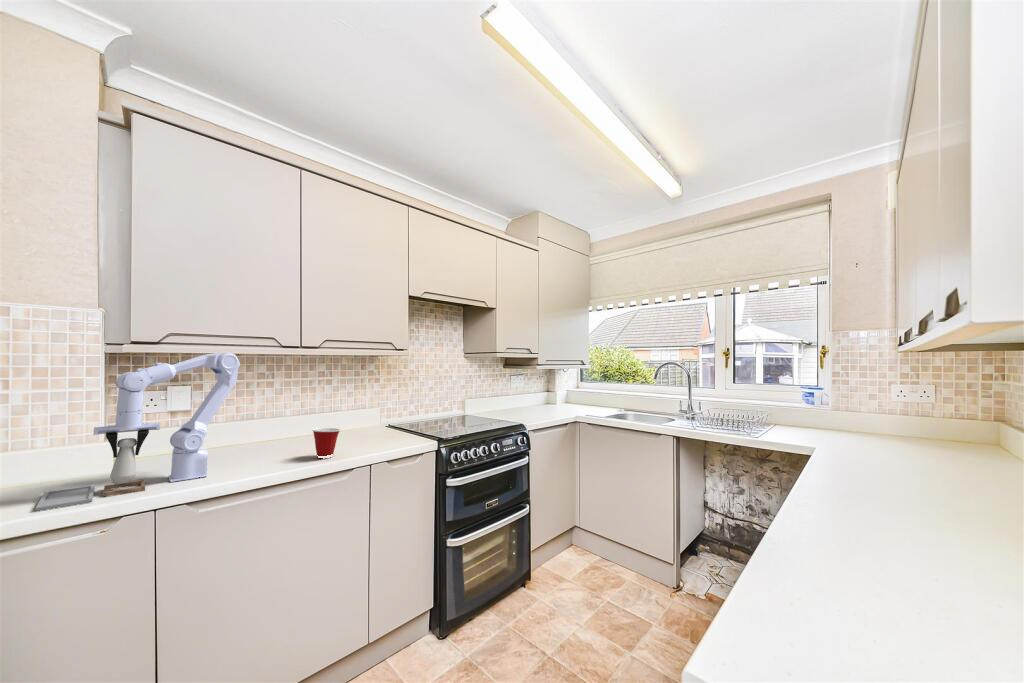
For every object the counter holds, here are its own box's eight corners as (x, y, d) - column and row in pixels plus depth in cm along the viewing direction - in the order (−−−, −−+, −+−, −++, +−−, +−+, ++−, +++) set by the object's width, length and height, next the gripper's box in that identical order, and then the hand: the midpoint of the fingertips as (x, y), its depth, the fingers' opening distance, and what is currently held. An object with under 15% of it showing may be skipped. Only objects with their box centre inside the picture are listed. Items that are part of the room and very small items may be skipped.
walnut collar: (143, 483, 125) (144, 479, 125) (144, 490, 119) (145, 486, 119) (104, 489, 119) (104, 485, 119) (103, 497, 113) (103, 493, 113)
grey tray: (94, 487, 120) (95, 484, 120) (91, 502, 109) (92, 498, 109) (44, 495, 113) (44, 491, 113) (35, 511, 102) (35, 507, 102)
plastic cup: (345, 455, 166) (346, 427, 167) (327, 461, 156) (328, 431, 156) (323, 453, 169) (324, 425, 169) (304, 459, 158) (306, 429, 159)
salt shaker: (120, 485, 115) (125, 440, 116) (103, 484, 116) (108, 439, 117) (141, 480, 121) (145, 437, 122) (125, 479, 121) (129, 436, 123)
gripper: (160, 408, 128) (157, 450, 127) (95, 411, 118) (92, 456, 117) (161, 410, 123) (158, 454, 122) (94, 414, 113) (90, 461, 112)
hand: (126, 455), depth 119 cm, fingers closed on salt shaker, 4 cm apart
